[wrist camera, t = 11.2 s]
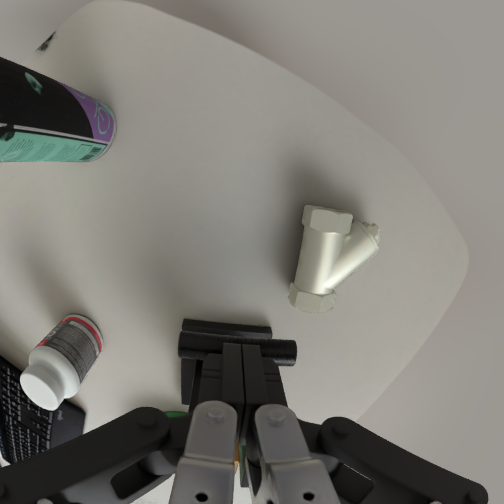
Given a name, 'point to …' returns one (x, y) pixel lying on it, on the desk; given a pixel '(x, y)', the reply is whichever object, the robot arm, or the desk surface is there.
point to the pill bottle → (62, 361)
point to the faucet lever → (203, 343)
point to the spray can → (49, 119)
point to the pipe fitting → (329, 256)
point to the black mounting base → (193, 367)
